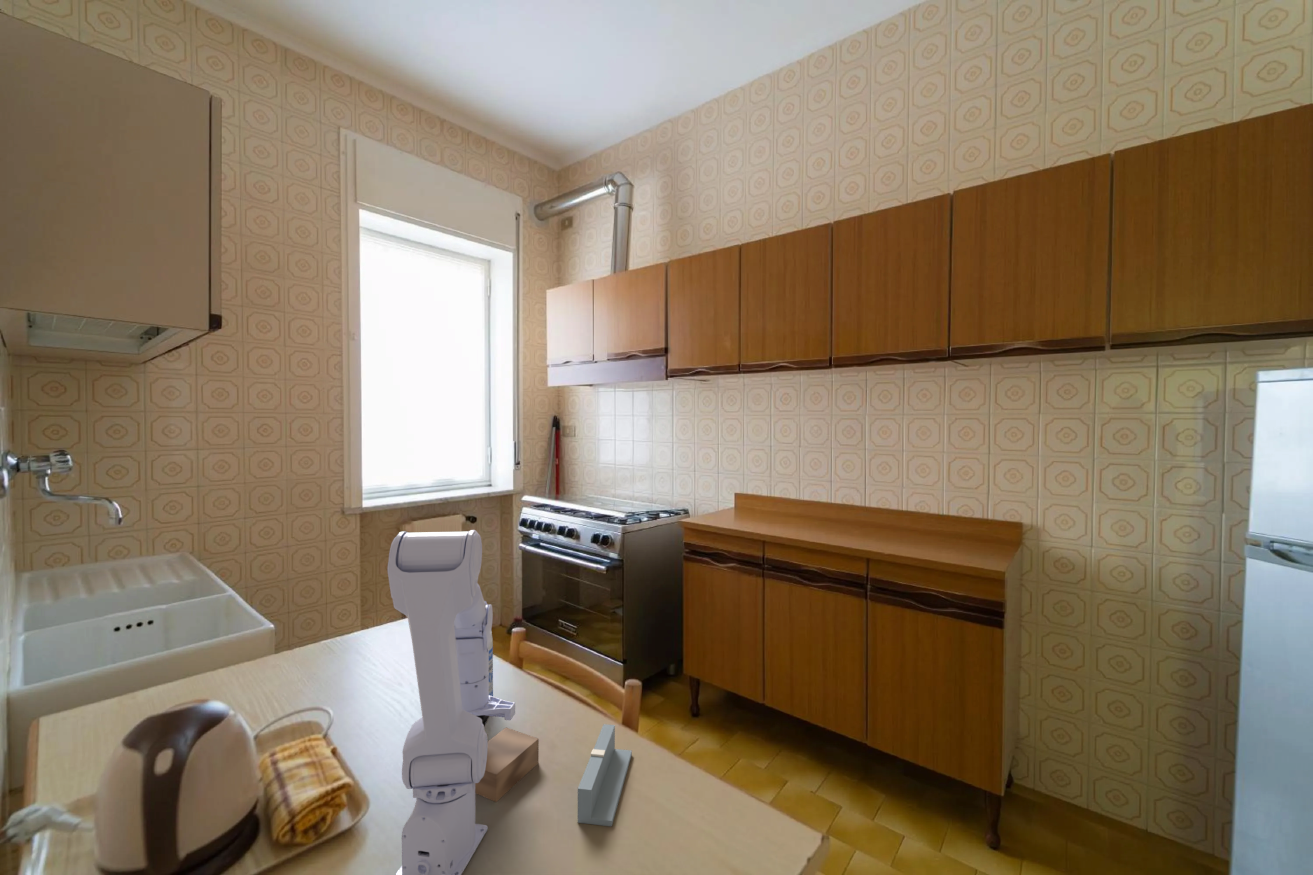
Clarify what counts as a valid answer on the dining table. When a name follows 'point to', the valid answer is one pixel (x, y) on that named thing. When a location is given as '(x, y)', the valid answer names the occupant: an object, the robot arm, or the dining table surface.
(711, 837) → the dining table surface
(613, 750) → the board
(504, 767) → the walnut block
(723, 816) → the dining table surface
